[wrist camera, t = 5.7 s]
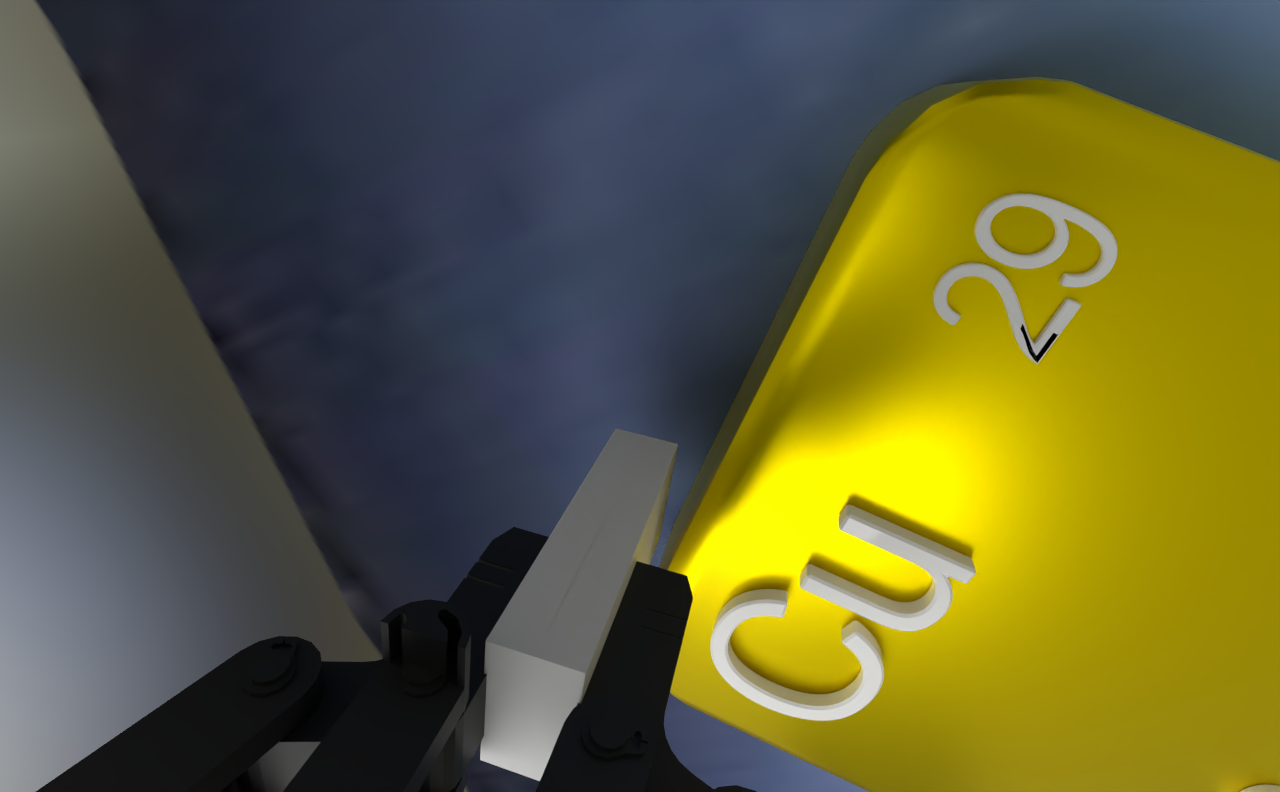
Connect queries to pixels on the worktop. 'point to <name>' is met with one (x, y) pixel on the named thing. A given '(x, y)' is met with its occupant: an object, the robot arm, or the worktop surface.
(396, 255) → the worktop surface
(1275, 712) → the element tile
